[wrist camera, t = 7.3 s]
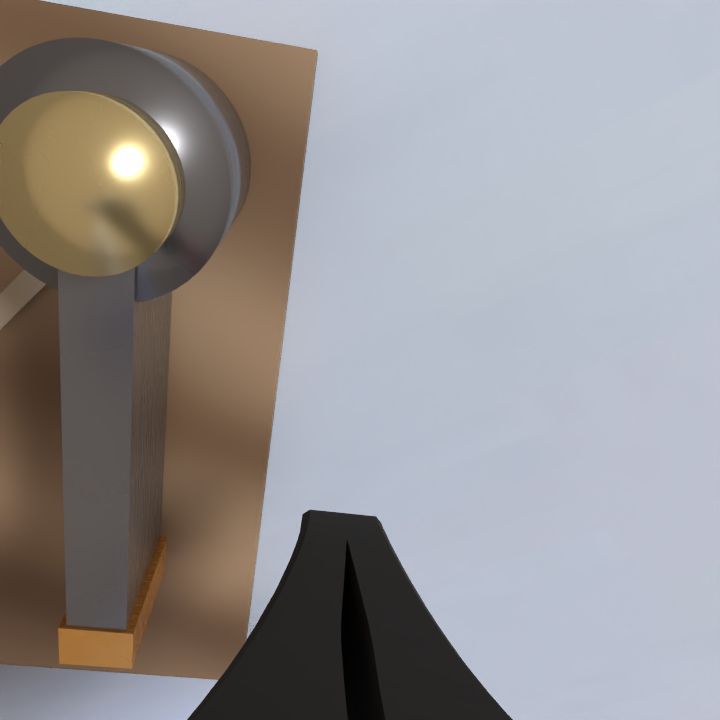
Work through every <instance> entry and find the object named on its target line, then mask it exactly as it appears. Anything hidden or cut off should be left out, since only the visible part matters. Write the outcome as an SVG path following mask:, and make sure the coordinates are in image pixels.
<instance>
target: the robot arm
mask: <svg viewBox="0 0 720 720" xmlns="http://www.w3.org/2000/svg"><path fill="white" fill-rule="evenodd" d="M187 720H512V719H511V718H510V717H509V715H508V714H507V713H506V712H505V711H504V710H503V709H502V708H501V707H500V705H499V704H498V703H497V702H496V701H495V700H494V698H493V697H492V696H491V695H490V694H489V693H488V692H487V690H486V689H485V688H484V687H483V685H482V684H481V683H480V682H479V680H478V679H477V678H476V677H475V675H474V674H473V673H472V672H471V670H470V669H469V668H468V667H467V665H466V664H465V663H464V661H463V660H462V659H461V657H460V656H459V655H458V653H457V652H456V650H455V649H454V648H453V646H452V645H451V644H450V642H449V641H448V639H447V638H446V636H445V635H444V633H443V632H442V630H441V629H440V628H439V626H438V625H437V623H436V622H435V620H434V618H433V617H432V615H431V614H430V612H429V611H428V609H427V608H426V606H425V604H424V603H423V601H422V599H421V598H420V596H419V594H418V593H417V591H416V589H415V588H414V586H413V584H412V583H411V581H410V579H409V577H408V576H407V574H406V572H405V570H404V568H403V567H402V565H401V563H400V561H399V559H398V557H397V555H396V553H395V552H394V550H393V548H392V546H391V544H390V542H389V539H388V537H387V535H386V533H385V531H384V529H383V527H382V524H381V522H380V521H379V520H378V519H377V517H375V516H365V515H356V514H346V513H336V512H326V511H317V510H309V511H307V512H306V513H304V514H303V516H302V523H301V529H300V534H299V537H298V540H297V543H296V546H295V549H294V551H293V554H292V557H291V559H290V561H289V563H288V566H287V568H286V570H285V572H284V574H283V576H282V578H281V581H280V583H279V585H278V587H277V589H276V591H275V593H274V595H273V596H272V598H271V600H270V602H269V603H268V605H267V607H266V609H265V610H264V612H263V614H262V616H261V617H260V619H259V621H258V623H257V624H256V626H255V628H254V629H253V631H252V632H251V634H250V636H249V637H248V639H247V640H246V642H245V643H244V645H243V646H242V648H241V649H240V651H239V652H238V654H237V655H236V657H235V658H234V660H233V661H232V662H231V664H230V665H229V667H228V668H227V669H226V671H225V672H224V674H223V675H222V676H221V677H220V679H219V680H218V681H217V683H216V684H215V685H214V687H213V688H212V689H211V691H210V692H209V693H208V695H207V696H206V697H205V698H204V700H203V701H202V702H201V703H200V705H199V706H198V707H197V708H196V710H195V711H194V712H193V713H192V715H191V716H190V717H189V718H188V719H187Z"/></svg>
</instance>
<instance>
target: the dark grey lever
mask: <svg viewBox="0 0 720 720" xmlns="http://www.w3.org/2000/svg"><path fill="white" fill-rule="evenodd" d="M250 179H251V156H250V148H249V143H248V139H247V135H246V132H245V129H244V127H243V124H242V121H241V119H240V117H239V115H238V113H237V111H236V109H235V108H234V106H233V105H232V103H231V102H230V100H229V99H228V97H227V96H226V95H225V94H224V92H223V91H222V90H221V89H220V88H219V86H218V85H217V84H216V83H215V82H213V81H212V80H211V79H210V78H209V77H208V76H207V75H206V74H204V73H203V72H202V71H200V70H199V69H197V68H196V67H195V66H193V65H191V64H189V63H187V62H186V61H184V60H182V59H180V58H177V57H175V56H172V55H170V54H167V53H163V52H159V51H155V50H150V49H145V48H140V47H136V46H131V45H126V44H121V43H116V42H111V41H106V40H101V39H93V38H83V37H79V38H61V39H56V40H51V41H46V42H43V43H40V44H37V45H34V46H31V47H29V48H27V49H25V50H23V51H21V52H20V53H18V54H16V55H14V56H13V57H11V58H10V59H9V60H8V61H6V62H5V63H4V64H2V65H1V66H0V246H1V247H2V248H3V249H4V250H5V251H6V253H7V254H8V255H9V256H10V257H11V258H12V259H13V260H14V261H15V262H17V263H18V264H19V265H20V266H21V267H22V268H23V269H24V270H26V271H27V272H28V273H30V274H31V275H33V276H34V277H35V278H37V279H38V280H40V281H42V282H43V283H45V284H47V285H48V286H50V287H52V288H54V289H56V290H58V298H59V338H60V379H61V419H62V460H63V500H64V541H65V581H66V613H65V615H64V617H63V619H62V621H61V623H60V625H59V627H58V639H59V664H72V665H86V666H99V667H113V668H127V669H132V667H133V664H134V661H135V658H136V655H137V652H138V649H139V646H140V643H141V640H142V637H143V634H144V631H145V628H146V625H147V622H148V619H149V616H150V613H151V610H152V607H153V604H154V601H155V598H156V595H157V592H158V589H159V586H160V583H161V580H162V577H163V574H164V571H165V568H166V549H167V537H161V519H162V498H163V477H164V456H165V435H166V414H167V393H168V372H169V351H170V330H171V309H172V291H173V290H176V289H177V288H179V287H180V286H182V285H183V284H185V283H186V282H188V281H189V280H190V279H191V278H192V277H193V276H195V275H196V274H197V273H198V272H199V271H200V270H201V269H202V268H203V266H204V265H205V264H206V263H207V262H208V261H209V259H210V258H211V256H212V255H213V253H214V252H215V250H216V249H217V247H218V246H219V244H220V243H221V241H222V240H223V238H224V237H225V235H226V234H227V232H228V231H229V229H230V228H231V226H232V225H233V223H234V222H235V220H236V219H237V217H238V216H239V214H240V212H241V210H242V208H243V205H244V203H245V201H246V197H247V194H248V191H249V185H250Z"/></svg>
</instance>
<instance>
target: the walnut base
mask: <svg viewBox="0 0 720 720" xmlns="http://www.w3.org/2000/svg"><path fill="white" fill-rule="evenodd" d="M79 37H83V38H93V39H101V40H106V41H111V42H116V43H121V44H126V45H131V46H136V47H140V48H145V49H150V50H155V51H159V52H163V53H167V54H170V55H172V56H175V57H177V58H180V59H182V60H184V61H186V62H187V63H189V64H191V65H193V66H195V67H196V68H197V69H199V70H200V71H202V72H203V73H204V74H206V75H207V76H208V77H209V78H210V79H211V80H212V81H213V82H215V83H216V84H217V85H218V86H219V88H220V89H221V90H222V91H223V92H224V94H225V95H226V96H227V97H228V99H229V100H230V102H231V103H232V105H233V106H234V108H235V109H236V111H237V113H238V115H239V117H240V119H241V121H242V124H243V127H244V129H245V132H246V135H247V139H248V143H249V148H250V156H251V179H250V185H249V191H248V194H247V197H246V201H245V203H244V205H243V208H242V210H241V212H240V214H239V216H238V217H237V219H236V220H235V222H234V223H233V225H232V226H231V228H230V229H229V231H228V232H227V234H226V235H225V237H224V238H223V240H222V241H221V243H220V244H219V246H218V247H217V249H216V250H215V252H214V253H213V255H212V256H211V258H210V259H209V261H208V262H207V263H206V264H205V265H204V266H203V268H202V269H201V270H200V271H199V272H198V273H197V274H196V275H195V276H193V277H192V278H191V279H190V280H189V281H188V282H186V283H185V284H183V285H182V286H180V287H179V288H177V289H176V290H173V291H172V309H171V330H170V351H169V372H168V393H167V414H166V435H165V456H164V477H163V498H162V519H161V537H167V549H166V568H165V571H164V574H163V577H162V580H161V583H160V586H159V589H158V592H157V595H156V598H155V601H154V604H153V607H152V610H151V613H150V616H149V619H148V622H147V625H146V628H145V631H144V634H143V637H142V640H141V643H140V646H139V649H138V652H137V655H136V658H135V661H134V664H133V667H132V669H127V668H113V667H99V666H86V665H72V664H59V639H58V627H59V625H60V623H61V621H62V619H63V617H64V615H65V613H66V581H65V541H64V500H63V460H62V419H61V379H60V338H59V298H58V290H56V289H54V288H52V287H50V286H48V285H47V284H45V283H43V282H42V281H40V280H38V279H37V278H35V277H34V276H33V275H31V274H30V273H28V272H27V271H26V270H24V269H23V268H22V267H21V266H20V265H19V264H18V263H17V262H15V261H14V260H13V259H12V258H11V257H10V256H9V255H8V254H7V253H6V251H5V250H4V249H3V248H2V247H1V246H0V664H8V665H22V666H35V667H49V668H63V669H77V670H91V671H105V672H119V673H133V674H146V675H160V676H174V677H188V678H202V679H216V680H219V679H220V677H221V676H222V675H223V674H224V672H225V671H226V669H227V668H228V667H229V665H230V664H231V662H232V661H233V660H234V658H235V657H236V655H237V654H238V652H239V651H240V649H241V648H242V646H243V645H244V643H245V642H246V639H247V631H248V623H249V615H250V606H251V598H252V590H253V582H254V574H255V565H256V557H257V549H258V541H259V532H260V524H261V516H262V508H263V499H264V491H265V483H266V475H267V466H268V458H269V450H270V442H271V434H272V425H273V417H274V409H275V401H276V392H277V384H278V376H279V368H280V359H281V351H282V343H283V335H284V327H285V318H286V310H287V302H288V294H289V285H290V277H291V269H292V261H293V252H294V244H295V236H296V228H297V219H298V211H299V203H300V195H301V187H302V178H303V170H304V162H305V154H306V145H307V137H308V129H309V121H310V112H311V104H312V96H313V88H314V80H315V71H316V63H317V55H318V53H317V50H312V49H307V48H301V47H296V46H290V45H285V44H279V43H273V42H268V41H262V40H257V39H251V38H246V37H240V36H235V35H229V34H223V33H218V32H212V31H207V30H201V29H196V28H190V27H185V26H179V25H173V24H168V23H162V22H157V21H151V20H146V19H140V18H134V17H129V16H123V15H118V14H112V13H107V12H101V11H96V10H90V9H84V8H79V7H73V6H68V5H62V4H57V3H51V2H46V1H40V0H0V66H1V65H2V64H4V63H5V62H6V61H8V60H9V59H10V58H11V57H13V56H14V55H16V54H18V53H20V52H21V51H23V50H25V49H27V48H29V47H31V46H34V45H37V44H40V43H43V42H46V41H51V40H56V39H61V38H79Z"/></svg>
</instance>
